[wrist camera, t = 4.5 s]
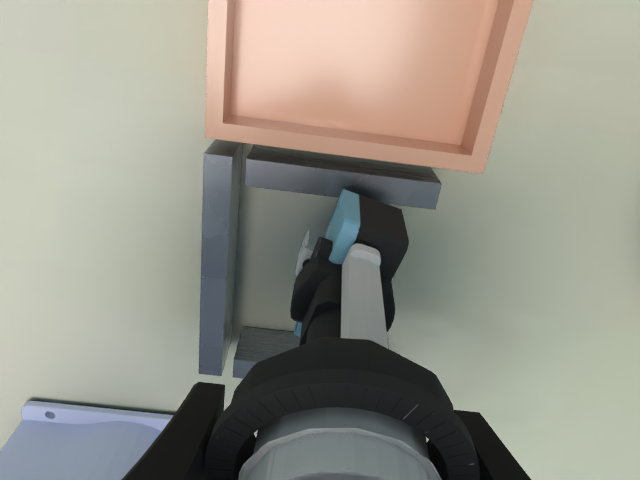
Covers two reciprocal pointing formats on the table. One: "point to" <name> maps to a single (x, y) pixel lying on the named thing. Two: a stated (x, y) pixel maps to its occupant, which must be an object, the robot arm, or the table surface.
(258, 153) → the bracket
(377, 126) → the tray
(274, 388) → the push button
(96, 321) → the table surface
